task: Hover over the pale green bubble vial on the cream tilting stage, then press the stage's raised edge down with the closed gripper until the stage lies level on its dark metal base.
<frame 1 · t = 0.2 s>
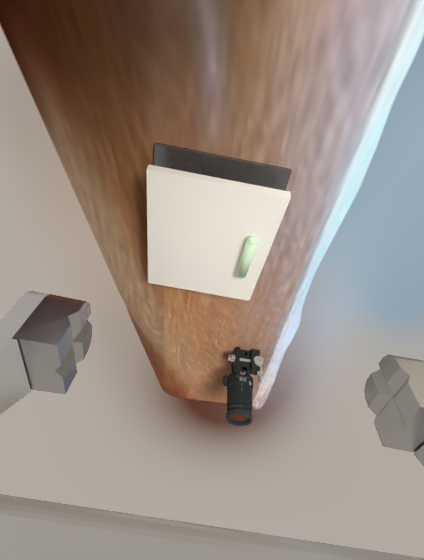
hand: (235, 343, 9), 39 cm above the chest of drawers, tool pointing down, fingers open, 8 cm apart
stage base: (211, 226, 52), on the chest of drawers
scope: (241, 359, 76), on the chest of drawers
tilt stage: (207, 248, 47), point 6 cm above the chest of drawers, hinge at 8.0°
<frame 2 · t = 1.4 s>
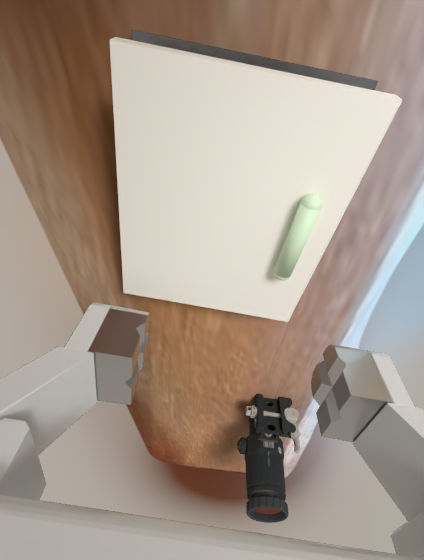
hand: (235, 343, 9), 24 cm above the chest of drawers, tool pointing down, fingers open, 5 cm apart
stage base: (227, 196, 31), on the chest of drawers
scope: (263, 412, 52), on the chest of drawers
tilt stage: (225, 223, 27), point 6 cm above the chest of drawers, hinge at 8.0°
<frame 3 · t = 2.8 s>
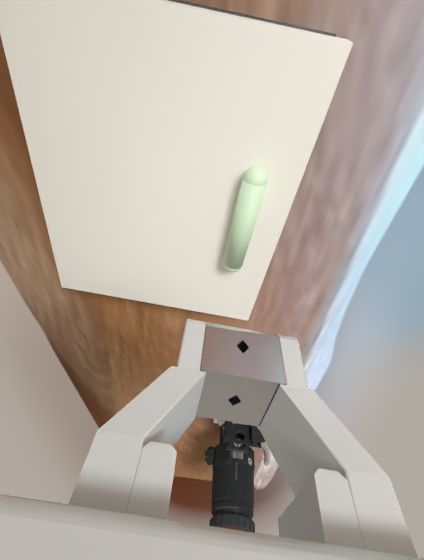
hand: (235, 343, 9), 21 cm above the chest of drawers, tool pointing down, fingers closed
stage base: (175, 177, 28), on the chest of drawers
scope: (236, 418, 49), on the chest of drawers
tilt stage: (160, 205, 23), point 6 cm above the chest of drawers, hinge at 8.0°
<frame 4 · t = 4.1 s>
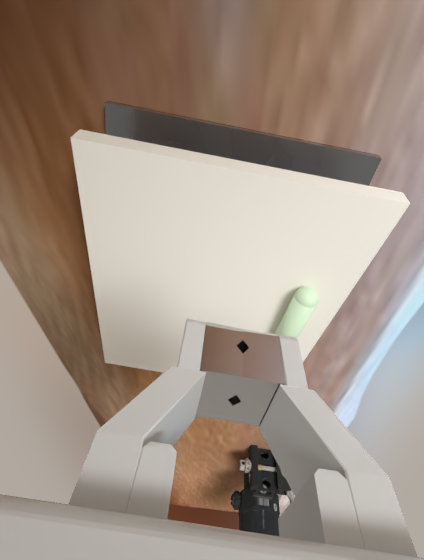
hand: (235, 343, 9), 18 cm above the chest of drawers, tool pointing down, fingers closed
stage base: (216, 264, 29), on the chest of drawers
scope: (259, 460, 50), on the chest of drawers
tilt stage: (211, 309, 24), point 6 cm above the chest of drawers, hinge at 8.0°
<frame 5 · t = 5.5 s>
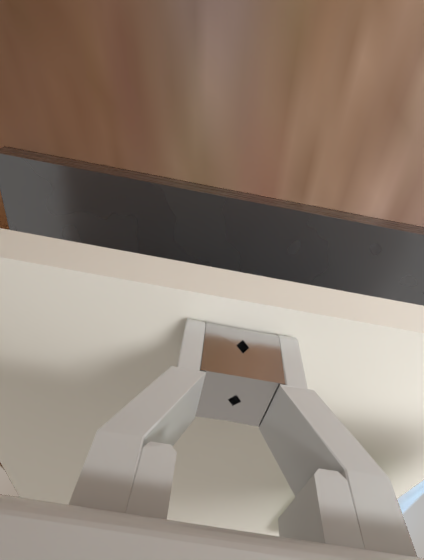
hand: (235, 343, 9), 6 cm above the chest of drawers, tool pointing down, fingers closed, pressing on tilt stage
stage base: (204, 375, 19), on the chest of drawers
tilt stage: (191, 484, 14), point 6 cm above the chest of drawers, hinge at 1.3°, touching gripper
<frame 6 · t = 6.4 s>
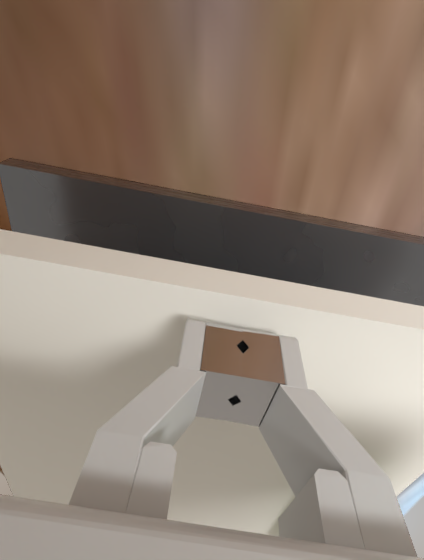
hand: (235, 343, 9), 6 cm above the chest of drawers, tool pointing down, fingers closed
stage base: (203, 379, 19), on the chest of drawers
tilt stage: (190, 487, 15), point 6 cm above the chest of drawers, hinge at -1.0°
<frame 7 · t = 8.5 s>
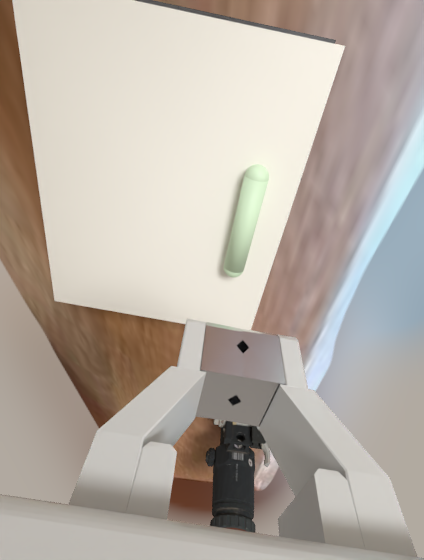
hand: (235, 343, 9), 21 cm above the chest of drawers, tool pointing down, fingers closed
stage base: (176, 180, 28), on the chest of drawers
scope: (236, 420, 49), on the chest of drawers
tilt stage: (162, 207, 23), point 6 cm above the chest of drawers, hinge at -1.0°
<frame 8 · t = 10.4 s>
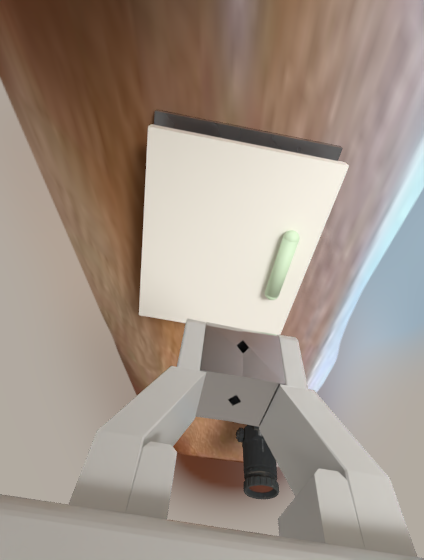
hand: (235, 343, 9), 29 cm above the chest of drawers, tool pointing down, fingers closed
stage base: (227, 229, 39), on the chest of drawers
scope: (259, 406, 60), on the chest of drawers
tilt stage: (225, 254, 34), point 6 cm above the chest of drawers, hinge at -1.0°
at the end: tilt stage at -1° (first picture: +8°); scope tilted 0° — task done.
